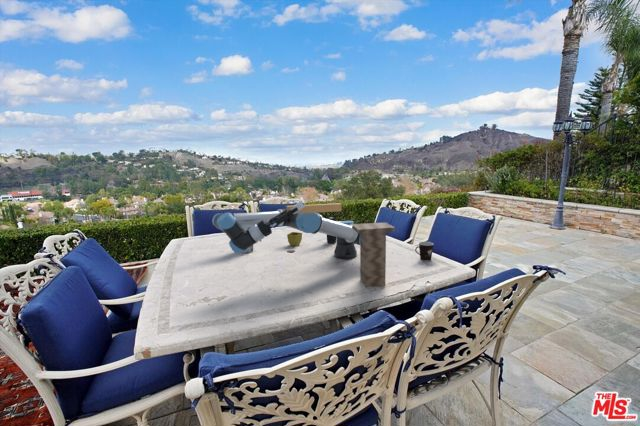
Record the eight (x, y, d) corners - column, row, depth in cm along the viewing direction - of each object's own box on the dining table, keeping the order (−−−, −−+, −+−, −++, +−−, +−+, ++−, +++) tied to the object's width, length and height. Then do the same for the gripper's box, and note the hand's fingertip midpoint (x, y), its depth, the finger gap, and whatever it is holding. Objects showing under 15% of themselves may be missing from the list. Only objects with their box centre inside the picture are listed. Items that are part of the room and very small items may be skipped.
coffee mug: (430, 256, 183) (431, 241, 181) (434, 261, 175) (435, 245, 173) (412, 256, 184) (412, 241, 183) (415, 261, 176) (415, 245, 174)
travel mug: (326, 241, 225) (325, 216, 221) (335, 240, 225) (335, 216, 222) (327, 244, 217) (326, 218, 214) (337, 243, 218) (336, 218, 214)
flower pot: (303, 244, 220) (302, 232, 218) (297, 247, 212) (296, 235, 210) (293, 243, 223) (292, 231, 222) (287, 246, 215) (286, 234, 214)
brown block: (287, 214, 133) (286, 206, 132) (286, 213, 136) (286, 205, 135) (341, 211, 137) (341, 204, 136) (340, 210, 140) (340, 203, 139)
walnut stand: (358, 289, 140) (358, 229, 135) (352, 279, 152) (352, 224, 146) (393, 285, 142) (394, 227, 137) (384, 276, 154) (385, 222, 149)
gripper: (266, 232, 143) (305, 207, 144) (264, 241, 127) (309, 213, 128) (257, 220, 141) (297, 195, 142) (255, 227, 126) (300, 199, 126)
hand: (302, 203), depth 135 cm, fingers closed on brown block, 3 cm apart
